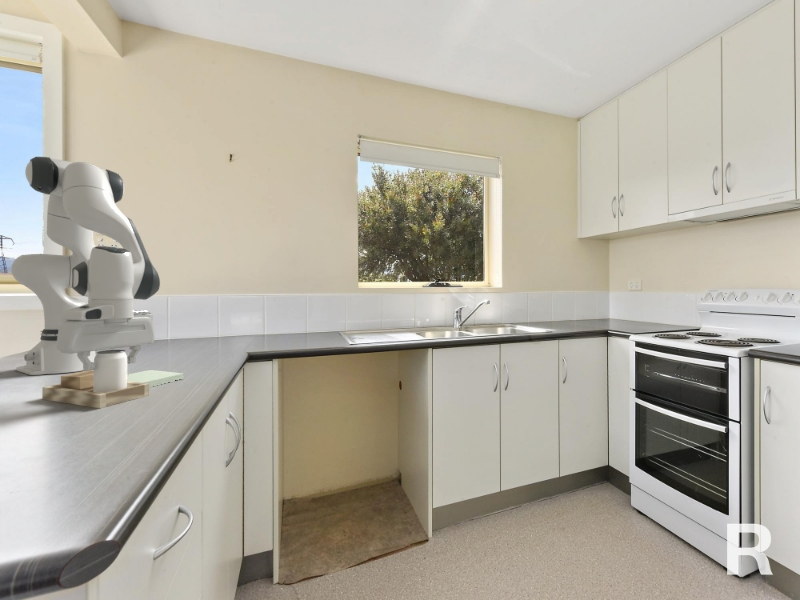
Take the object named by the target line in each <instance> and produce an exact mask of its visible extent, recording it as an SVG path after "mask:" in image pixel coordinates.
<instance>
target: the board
mask: <svg viewBox="0 0 800 600" xmlns="http://www.w3.org/2000/svg"><path fill="white" fill-rule="evenodd" d="M184 374H185V373H183V372H174V371H164V370H154V369H148V370H143V371H137V372H133V373H127V381H130V382H139V383H147V384H149V387H150V388H153V386H154V387H157V385H158V386H162V385H165V384H164V383H166V384H169V383H168V382H170V383H173V382H172V381H174V382H176V381H175V380H178V381H180V380H179V379H182V380H184V379H185V378H184V377H185V376H184ZM183 378H184V379H183ZM161 384H162V385H161Z"/></svg>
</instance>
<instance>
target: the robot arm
mask: <svg viewBox="0 0 800 600" xmlns="http://www.w3.org/2000/svg"><path fill="white" fill-rule="evenodd" d="M24 171H25V174H24V175H25V177H26V180H27V181H28V183H29V187H31V188H32V189H33V190H34V191H36V192H38V193H42V194H44V195H49V197H48V201H47V202H48V203H47V210H46V212H47V214H46V235H47V237H48V238H49V239H50V240H51V241H52V242H53V243H56V244H57V245H59V246H61V247H63V248H66V249H68V250H69V251H71V252H72V254H71V255H63V254H48V253H31V254H29V253H28V254H21V255H19V256H18V257H16V259H15V260H13V262H12V264H11V267H10V271H11V275H12V276H13V278H14V280H15V281H16V282H17V283H18V284H21V285H23V286H24V287H26V288H27V289H29V290H30V291H32V292H33V293H34V294H35V296H37V298H38V299H39V301H40V302H41V304H42V308H43V316H44V329H42V330H41V331H40V341H39V342H38V343H37V344H35V346H33V347H32V348H31V349H30V350H29V351H28V352H27V353H26V354H24V355H23V358H24V361H26V362H25V363H26V364H25V365H21V366H18V367H15V371H17V372H19V373H23V374H26V375H29V376H38V375H39V376H40V375H53V374H65V373H66V374H67V373H77V372H83V371H94V369H95V362H94V358H95V356H96V352H98V351H105V350H115V349H121V348H128V347H129V350H131V351H130V352H129V354H128V355H127V365H128V364H129V365H130V364H135V363H136V362H137V359H136V358H137V356H138V354H139V353H140V351H141V347H142V346H144V345H151V344H153V342H154V341H155V339H156V338H155V337H156V336H155V326H154V321H153V320H154V316H153V314H152V313H151V312H150V311H148V310H146V309H144V310H135V300H144V301H146V300H147V299H150V298H151V297H153V296H154V295H156V293H158V292H159V290H160V288H161V287H160V286H161V281H160V280H161V279H160V276H159V272H158V271H157V270H156V268H155V266H154V265H153V263H152V262H151V260H150V257H149V255H148V253H147V250H146V247H145V245H144V243H143V240H142V238H141V236H140V234H139V232H138V230H137V227H136V225H135V224H134V222H133V220H132V219H130V218H129V217H128V216H127V215H125V214H124V213H123V212H122V210H120V209H119V207H118V206H117V204H116V203H119V202H120V201H121V200H122V198H123V196H124V194H125V184H124V180H123V178H122V177H121V175H120V174H119V173H117V172H115V171H112V170H110V169H103V168H100V167H98V166H97V165H95V164H92V163H90V162H85V161H77V162H74V161H71V160H70V161H69V160H62V159H56V158H51V157H50V156H49V157H47V156H34V157H32V158H30V159H29V162H28V163H27V165H26V167H25V169H24ZM94 233H96V234H97V233H98V234H99V235H100V234H101V235H102V236H106V237H108V238H110V239H112V240H114V241H116V242H117V243H118V244H119V245H120V246H121V247H122V248H121V247H115V246H107V245H106V246H105V245H104V246H103V245H99V246H96V243H95V240H94V238H95V237H94ZM66 289H72V290H73V291H75V292H76V293H77V294H79V295H80V296H82V297H87V303H86V302H84V301H83V300H81V299H78V298H76V297H73V296H71V295H68V294H67V292H66V291H65V290H66Z"/></svg>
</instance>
